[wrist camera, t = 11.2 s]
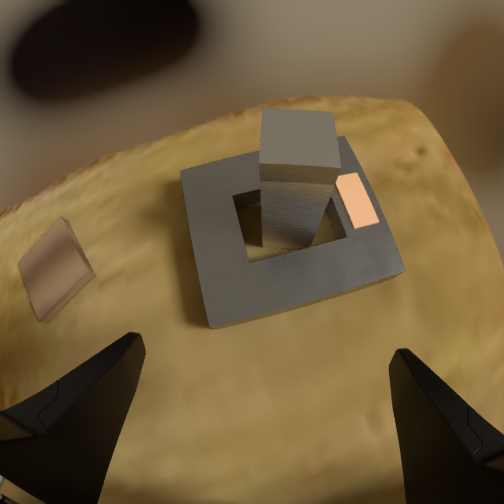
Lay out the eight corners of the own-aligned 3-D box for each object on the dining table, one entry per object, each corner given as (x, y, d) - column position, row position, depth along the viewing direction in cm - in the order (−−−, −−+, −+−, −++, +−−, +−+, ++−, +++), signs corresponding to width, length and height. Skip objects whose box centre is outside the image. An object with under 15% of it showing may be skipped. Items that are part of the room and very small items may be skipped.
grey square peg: (309, 249, 24) (341, 168, 13) (262, 247, 25) (259, 163, 13) (308, 207, 26) (333, 112, 14) (264, 205, 26) (262, 108, 15)
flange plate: (393, 277, 23) (406, 269, 21) (215, 329, 23) (208, 327, 20) (339, 151, 28) (344, 134, 25) (186, 185, 27) (179, 169, 25)
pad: (95, 275, 25) (87, 271, 23) (48, 323, 23) (39, 321, 22) (68, 221, 27) (61, 215, 25) (25, 266, 25) (17, 263, 24)
